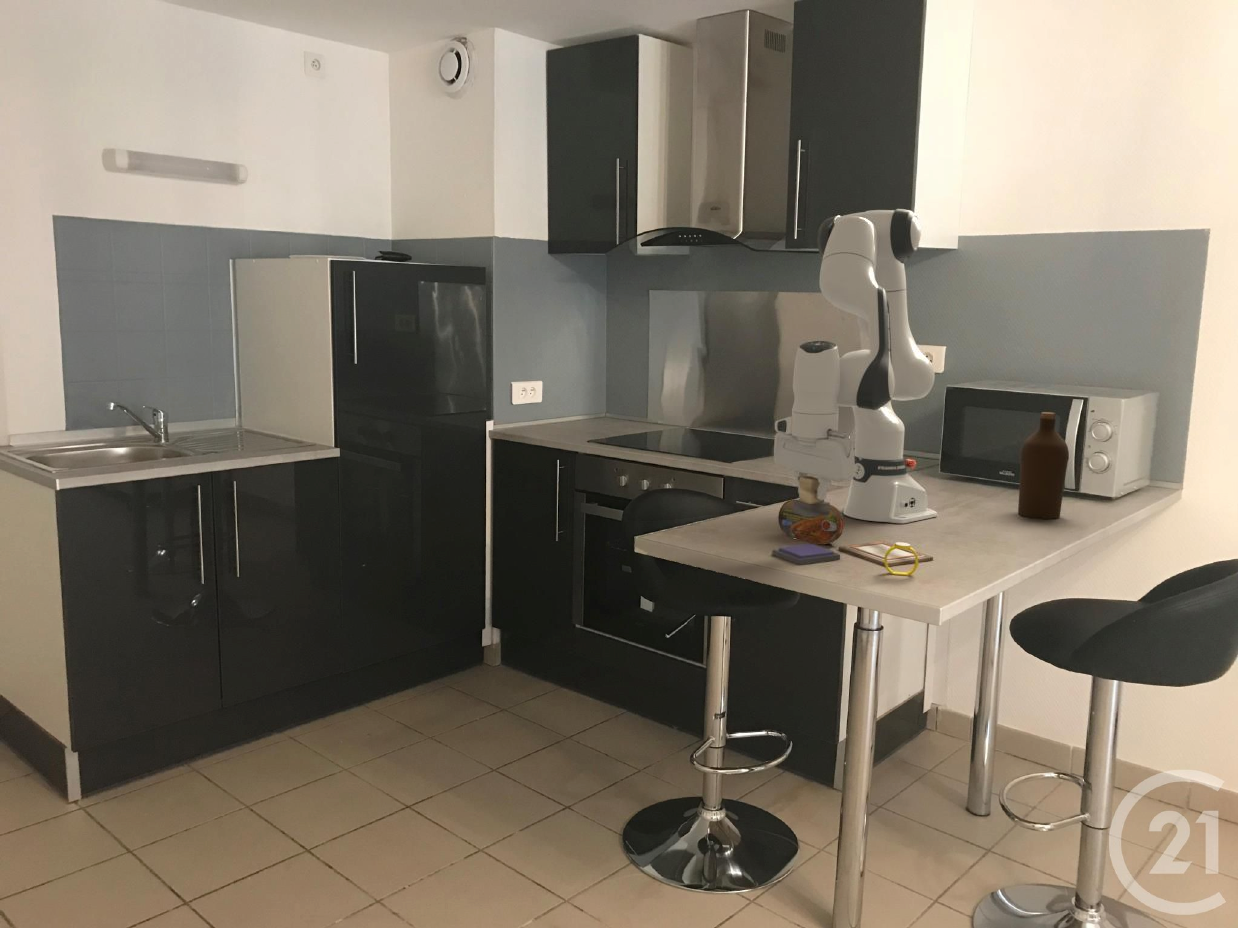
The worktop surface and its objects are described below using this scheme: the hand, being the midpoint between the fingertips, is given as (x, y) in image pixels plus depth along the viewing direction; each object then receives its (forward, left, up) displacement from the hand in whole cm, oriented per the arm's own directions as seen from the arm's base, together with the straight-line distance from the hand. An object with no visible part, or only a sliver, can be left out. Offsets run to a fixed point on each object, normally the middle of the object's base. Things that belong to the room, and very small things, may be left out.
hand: (811, 496), depth 191 cm
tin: (-9, -11, -12) cm, 19 cm away
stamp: (0, 0, -3) cm, 3 cm away
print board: (-15, +5, -12) cm, 20 cm away
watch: (-8, +17, -12) cm, 22 cm away
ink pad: (+1, 0, -12) cm, 12 cm away
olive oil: (-78, -9, -12) cm, 80 cm away
